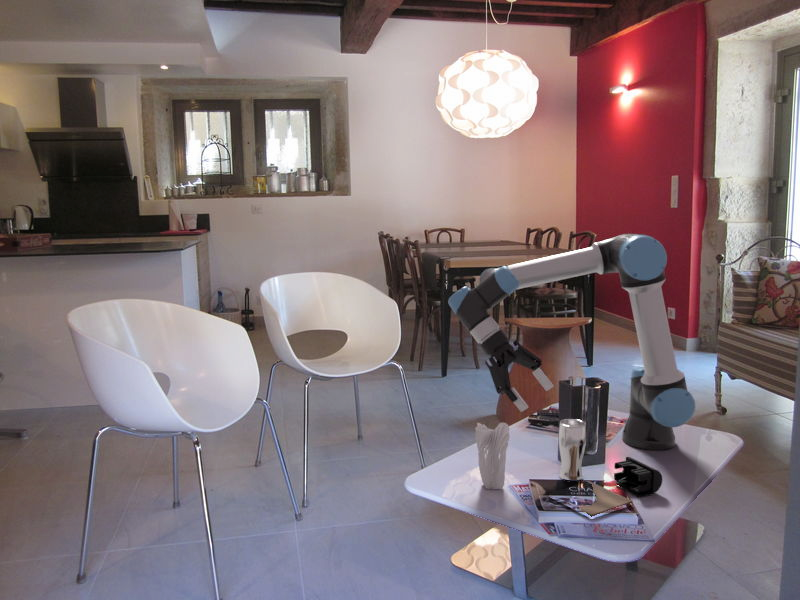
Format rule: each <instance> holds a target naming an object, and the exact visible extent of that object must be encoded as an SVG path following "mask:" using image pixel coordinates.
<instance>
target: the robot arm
mask: <svg viewBox="0 0 800 600" xmlns="http://www.w3.org/2000/svg"><path fill="white" fill-rule="evenodd" d="M667 262H668V254H667V251H666V249H665V247H664V246H663V244H662V243H661V242H660V241H659V240H658V239H656V238H654V237H653V236H651V235H647V234H642V233H641V234H638V233H630V232H629V233H623V234H619V235H617V236H614V237H611V238H608V239H604V240H601V241H597V242H593V243H592V245H591V246H589V247H586V248H582V249H576V250H573V251H568V252H563V253H558V254H554V255H549V256H545V257H541V258H537V259H536V258H535V259H532V260H531V259H530V260H528V261H524V262H519V263H518V262H517V263H513V264H510V265H509V264H508V265H502V266H501V267H496V268H495V267H490V268H486V269H485V270H483V272H482V273H481V274H480V277H479V284H478V285H476V286H475V287H474V288H470V287H469V286H467V285H465V286H463V287H461V288H459V289H458V290H457V291H455V292H454V293H452V294H451V296H450V297H449V298H448V301H447V302H448V305H449V307H450V308H451V310H452V311H453V313H454V315H455V316H456V317H457V318H458V320H459V321H460V322H461V324H462V325H463V326H464V327H465V328H466V330H467V331H468V332H469V333H470V335H471V336H472V337H473V339H474V340H475V341H476V342H477V344H480V348H481V349H482V351H483V352H484V353H485V355H487V356H490V357H489V358H488V359H486V360H485V362H484V363H485V365H486V366H487V368H488V369H489V373H490V375H491V379H492V382H493V384H494V387H495V391H496V393H497V394H498V395H506V396H507V398H508V399H509V401H511V403H513V404H514V405H515V406H516V407H517V409H518V410H519V412H520V413H523V412H524V411H525V410H526V411H527V409H528V408H529V407H530V406H529V405H528V404H527V402H526V401H525V400H524V399H523V397H522V396H521V395H520V393H519V391H517V390H516V388H515V387H512V386H511V380H510V372H509V366H510V365H511V364H514V363H516V364H518V365H520V366H522V367H525V368H527V369H529V370H532V373H531V374H533V376H534V377H535V378H536V380H537V381H538V383H539V385H541V386H542V388H543V389H544V391H545V392H548V391H549V390H551V389H552V388H553V387H555V385H554V384H553V383H552V381H551V380H550V379H549V377H548V376H547V374H546V372H545V371H544V370H543V369H542V368H541V366H542V365H543V364H542V362H543V360H542V359H541V358H540V357H539V356H537V355H535V354H534V353H533V352H531V351H530V350H528V349H527V348H525V347H523V345H521V343H520V342H519V341H518V340H514V341H512V342H511V343H509V337H508V336H507V335H506V333H505V332H504V331H503V330H502V329H500V326H499V325H500V324H498V323H497V322H496V321H495V319H494V318H493V316H491V314H490V313H489V311H490V310H492V308H494V307H495V306H496V305H498V304H499V303H500V302H502V301H503V300H505V299H506V298H507V297H509V296H510V295H511V294H513V293H514V292H515V291H516V290H520V289H524V288H525V289H526V288H529V287H533V286H534V287H535V286H538V285H544V284H547V283H553V282H557V281H562V280H567V279H571V278H574V277H575V278H576V277H579V276H586V275H590V274H594V273H597V274H599V276H600V275H605V274H613V273H616V274H617V273H618V274H619V275H618V276H619V279H620V285H621V289H623V290H625V292H626V291H627V292H628V295H629V301H630V305H631V311H632V316H633V320H634V326H635V330H636V335H637V341H638V344H639V345H638V346H639V350H640V351H639V352H640V355H641V360H642V361H641V362H642V364H643V365H642V367H641V366H639V367H635V368H633V369H632V371H631V377H630V393H629V394H630V397H629V415H628V417H627V420H626V423H625V425H624V428H623V431H622V441H623V442H624V443H626V444H627V445H629V446H631V447H635V448H638V449H643V450H648V451H649V450H650V451H651V450H652V451H665V450H670V449H673V448H674V447H675V446H676V436H675V433H674V428H677V427H681V426H684V425H685V424H687V423H688V422H689V421H690V420H691V419H692V417H693V416H694V414H695V411H696V402H695V398H694V397H693V395H692V393H691V392H690V391H688V388H687V382H686V377H685V373H684V372H682V371H681V370H679V369H678V366H677V361H676V357H675V356H676V355H675V350H674V346H673V340H672V336H671V330H670V324H669V319H668V314H667V311H666V310H667V309H666V305H665V300H664V299H665V298H664V295H663V290H662V289H663V288H662V286H663V284H664V283H665V281H666V280H667V279H666V274H665V268H666V266H667Z"/></svg>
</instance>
